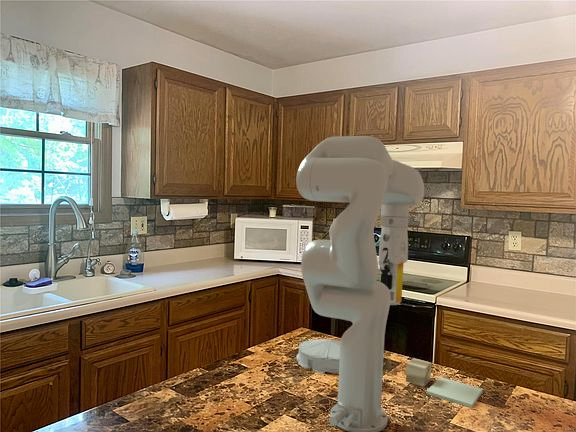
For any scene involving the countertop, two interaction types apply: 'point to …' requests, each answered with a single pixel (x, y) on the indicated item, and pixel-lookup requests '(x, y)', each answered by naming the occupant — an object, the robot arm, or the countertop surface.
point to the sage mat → (455, 392)
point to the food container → (320, 355)
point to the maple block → (418, 372)
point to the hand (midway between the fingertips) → (391, 286)
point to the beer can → (396, 282)
